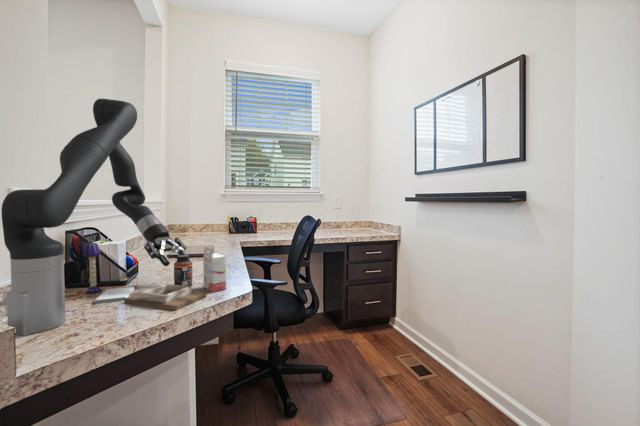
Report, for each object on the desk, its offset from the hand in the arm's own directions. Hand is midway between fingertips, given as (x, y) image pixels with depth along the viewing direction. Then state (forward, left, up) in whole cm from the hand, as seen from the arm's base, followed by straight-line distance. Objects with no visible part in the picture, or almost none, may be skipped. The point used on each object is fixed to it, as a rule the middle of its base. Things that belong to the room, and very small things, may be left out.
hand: (177, 262), depth 105 cm
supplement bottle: (0, -2, -9) cm, 9 cm away
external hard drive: (-15, +10, -9) cm, 21 cm away
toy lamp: (-15, +22, -9) cm, 28 cm away
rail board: (-13, -8, -9) cm, 18 cm away
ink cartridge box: (+2, -14, -9) cm, 17 cm away
